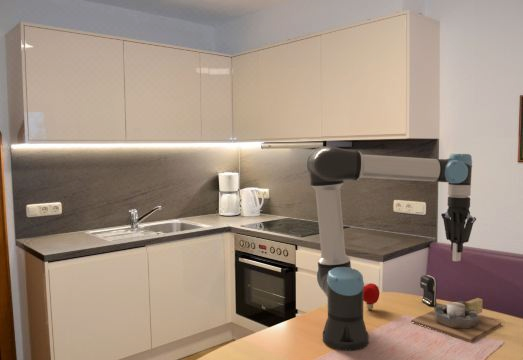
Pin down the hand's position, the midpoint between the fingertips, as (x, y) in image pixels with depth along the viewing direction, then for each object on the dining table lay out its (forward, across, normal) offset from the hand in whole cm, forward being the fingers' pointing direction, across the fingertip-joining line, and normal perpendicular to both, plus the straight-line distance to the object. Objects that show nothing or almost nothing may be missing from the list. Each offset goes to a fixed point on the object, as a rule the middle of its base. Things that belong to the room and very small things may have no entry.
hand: (456, 260), depth 165 cm
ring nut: (+21, -2, -1) cm, 21 cm away
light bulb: (+23, +24, +18) cm, 38 cm away
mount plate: (+22, -3, +3) cm, 23 cm away
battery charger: (+23, +17, -6) cm, 29 cm away
